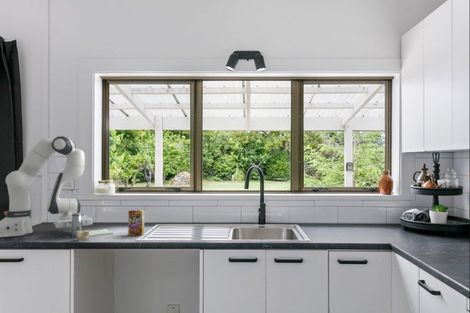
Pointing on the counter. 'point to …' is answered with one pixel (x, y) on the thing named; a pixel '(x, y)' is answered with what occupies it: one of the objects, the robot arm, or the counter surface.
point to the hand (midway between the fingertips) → (77, 224)
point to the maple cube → (83, 235)
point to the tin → (76, 224)
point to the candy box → (136, 222)
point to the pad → (99, 232)
